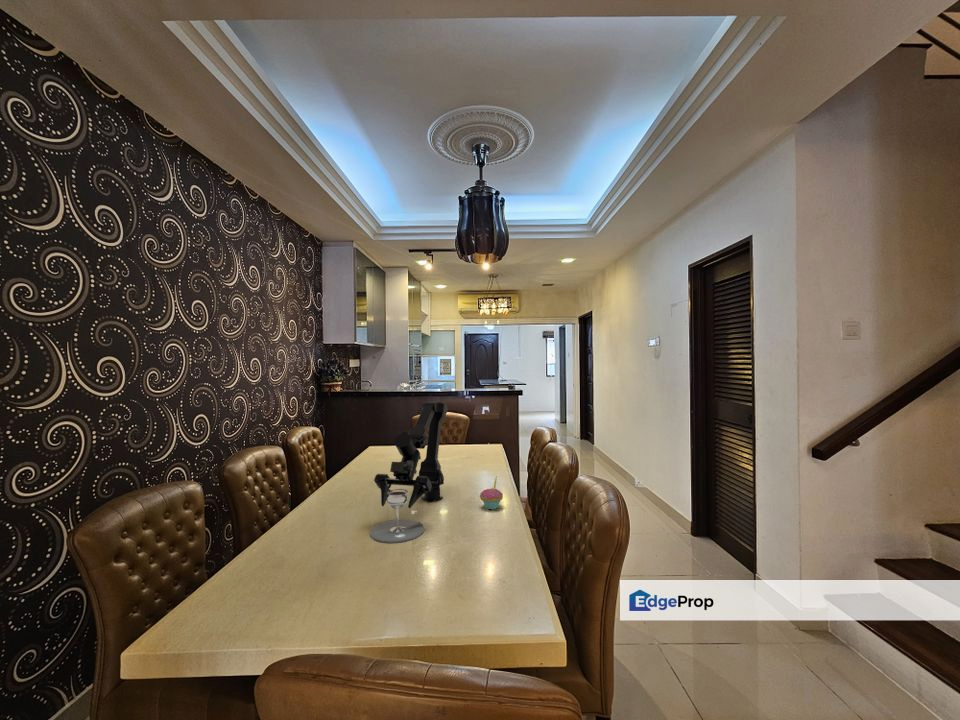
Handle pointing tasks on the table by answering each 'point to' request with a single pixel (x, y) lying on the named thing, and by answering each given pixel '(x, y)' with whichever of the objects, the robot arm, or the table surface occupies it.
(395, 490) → the wineglass
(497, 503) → the cupcake
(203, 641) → the table surface
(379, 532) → the slate plate
